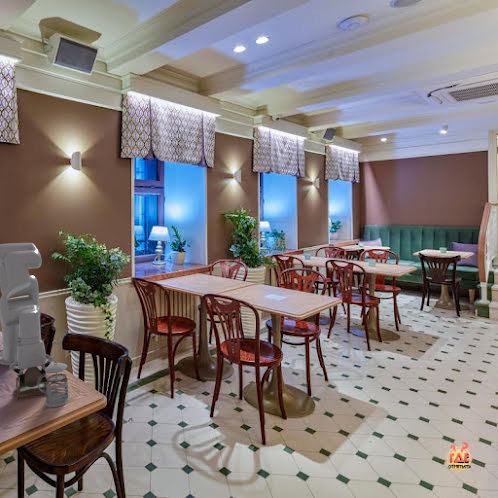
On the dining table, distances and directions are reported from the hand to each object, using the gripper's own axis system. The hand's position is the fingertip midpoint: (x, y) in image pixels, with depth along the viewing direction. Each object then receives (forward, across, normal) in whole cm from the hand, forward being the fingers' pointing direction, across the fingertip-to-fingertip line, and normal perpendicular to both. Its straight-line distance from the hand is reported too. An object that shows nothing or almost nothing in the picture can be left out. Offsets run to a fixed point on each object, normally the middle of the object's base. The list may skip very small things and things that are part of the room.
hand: (33, 379), depth 158 cm
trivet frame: (+5, 0, +12) cm, 13 cm away
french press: (+5, +7, -15) cm, 17 cm away
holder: (+5, 0, 0) cm, 5 cm away
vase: (+3, 0, 0) cm, 3 cm away
